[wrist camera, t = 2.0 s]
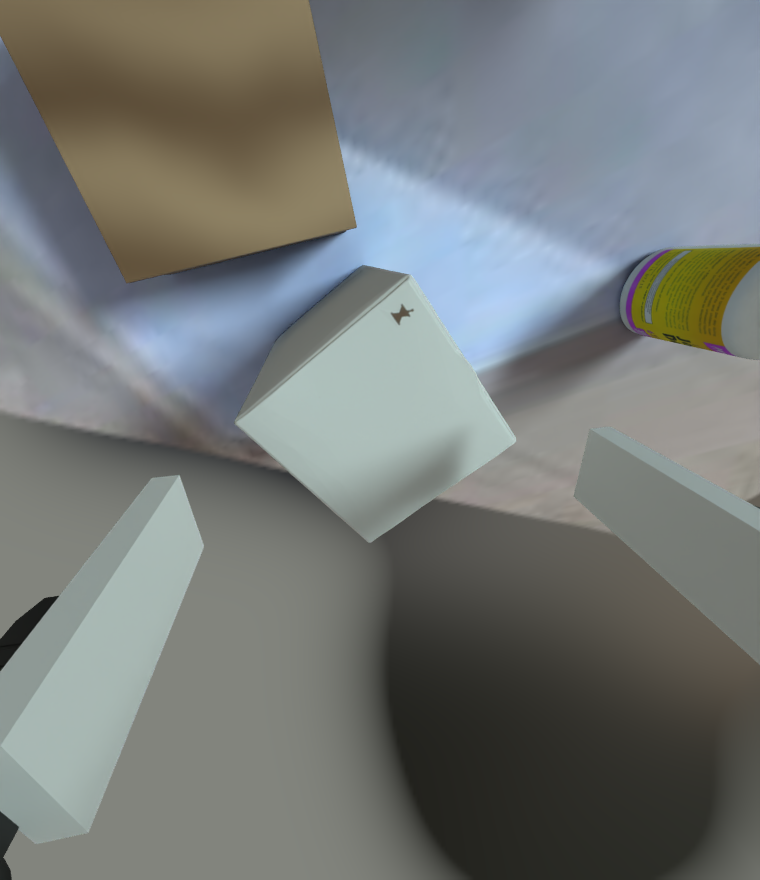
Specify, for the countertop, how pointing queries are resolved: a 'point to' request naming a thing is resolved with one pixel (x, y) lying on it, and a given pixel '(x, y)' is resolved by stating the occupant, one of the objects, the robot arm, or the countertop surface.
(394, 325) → the supplement box
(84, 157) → the walnut box
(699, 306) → the supplement bottle
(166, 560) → the robot arm
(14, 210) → the countertop surface
